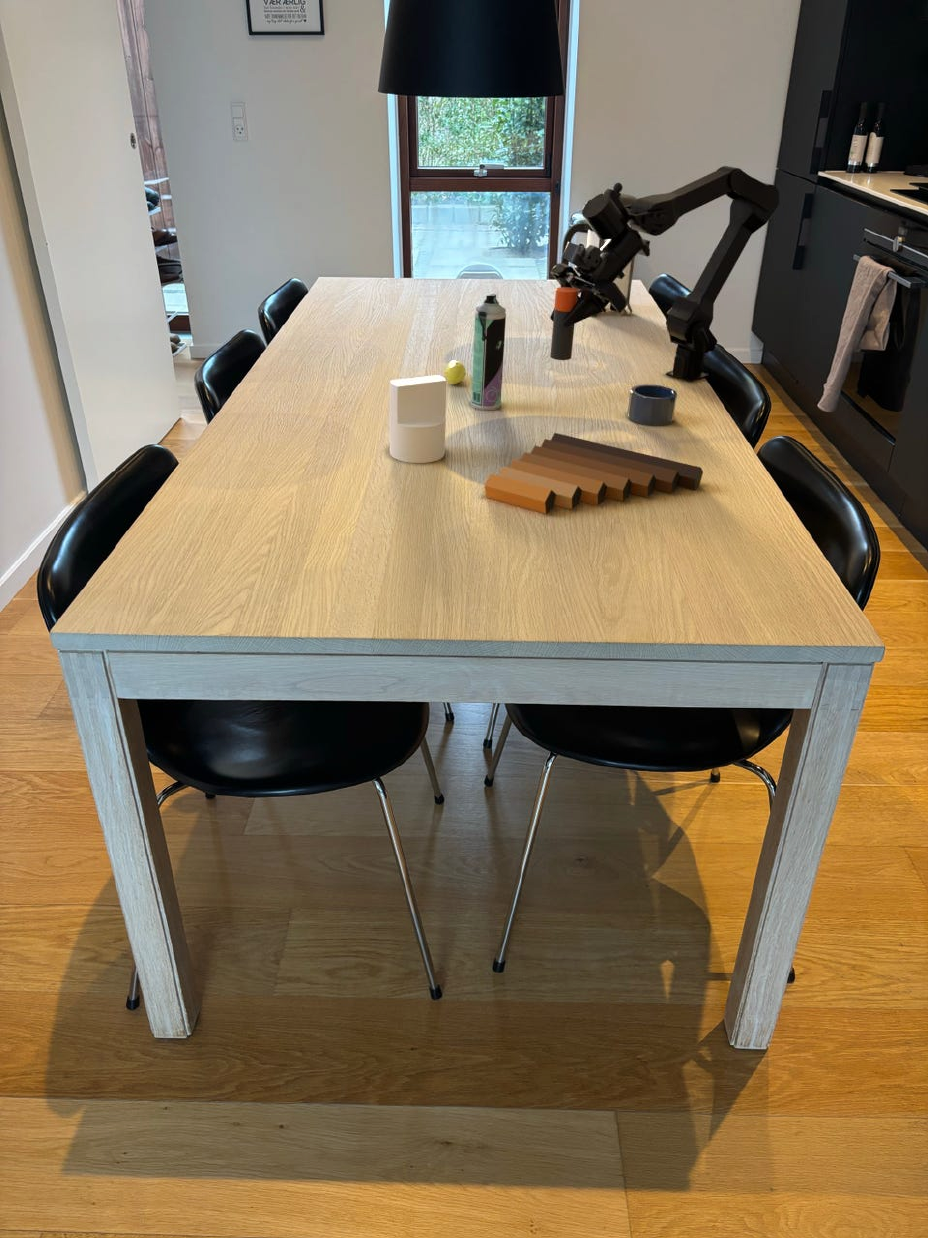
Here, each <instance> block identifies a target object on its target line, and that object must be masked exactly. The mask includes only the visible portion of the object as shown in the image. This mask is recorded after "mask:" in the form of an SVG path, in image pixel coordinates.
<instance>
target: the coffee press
mask: <svg viewBox="0 0 928 1238" xmlns="http://www.w3.org/2000/svg"><path fill="white" fill-rule="evenodd" d="M623 189H624V187H623V185H622V183H621V182H615V183H614V184H613V186H612V190H615V192H616V193H617V195H618V198H619V200H620V201H621V203H622V204H623V206H628V205H631V204H632V203H633V202H634V201H635V200H637V199H638V198H637V197H636V196H634V195H631V194H627V193H621V192H622V190H623ZM627 224H628V225H629V223H627ZM629 227H630V228H631V226H630V225H629ZM631 229H632V228H631ZM583 231H587V240H586V248H587V247H588V246H589V245H592V246H595V247H597V248H599V249H601V248H602V247H603V246H604V245H605V243H606V242H607V241H608V239H605V240H601V239H599V238H598V236H597V235H596V234H595V232H594V231H593V229H592V228H591V227H590V225H589V224H588V222H577V223H574V224H572V225H571V226H570V227H569V228H568V229H567V231H566V232H565V234H564V236H563V241H562V248H561V257H562V255H563V253H564V250H565V248H566V246H567V244H568V242H570V243H572V240H573V238H574V236H575V234H577V233H578V232H583ZM638 233H640V232H639V231H638ZM561 257H560V263H563V264H566V265H568V266H570V262H568V261H567V260H566V261H564V260H562V259H561ZM635 259H636V256H635V257H634V258H633V260H632V261H631V262H630V263H629V264H628V265H627V267H626V268H625V269H624V270H623V273H624V274H625V276H624V277H623V278H622V279H619V278H616V279H615V280H614V283H615V284H616V285H617V286H618V288H619V289H620V291H621V292H622V293H623V295H624V296H625V297H626V299H627V304H626V307H627V308H628V310H629V313H628V311H627V310H626V308H625V309H624V310H623V311H622V312H623V313H624V314H625V316H628V317H629V316H631V315H632V314H633V308H632V306H631V303H630V298H631V293H632V292H631V291H632V284H633V275H634V266H635ZM585 286H586V285H585ZM610 305H611V304H610V302H609V303H608V305H607V306H606V307H605V309H606V311H611V310H610ZM597 315H598V314H596V315H594V316H593V317H596V316H597Z"/></svg>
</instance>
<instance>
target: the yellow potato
mask: <svg viewBox="0 0 928 1238" xmlns="http://www.w3.org/2000/svg"><path fill="white" fill-rule="evenodd" d="M445 367H446V368H445V372H444V374H445V379H446V381H447V382H448V383H449V384H451V385H457V384H460V383H461V382H462V381H463V379H464V378H465V377H466V375H467V370H466V367H465V365H464V364H463V362H461V361H459V360H451V361H449V362H448V363H447V365H446V366H445Z"/></svg>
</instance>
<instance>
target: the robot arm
mask: <svg viewBox="0 0 928 1238" xmlns="http://www.w3.org/2000/svg"><path fill="white" fill-rule="evenodd" d="M723 196H727V198H729V199H730V200H732V201H731V203H730V206H729V221H728V225H727V226H726V228H725V230H724V232H723V233H722V235H721V237H720V239H719V241H718V243H717V244H716V247H715V249H714V250H713V252H712V254H711V256H710V258H709V259H708V261H707V263H706V265H705V267H704V269H703V271H702V272H701V274H700V275H699V278H698V280H697V281H696V283H695V285H694V286H693V289H692V290H691V292H689V293H688V294H687V295H685V297H684V296H681V295H677V296H676V298H675V299H674V301H673V304H672V306H671V308H670V309H669V310H668V311H667V312H666V315H667V317H666V320H665V325H666V330H667V333H668V336H669V342H670V343H673V344H675V345H677V346H676V347H675V348H676V349H675V355H674V359H673V360H674V361H673V366H672V370H670V371H667V372H665V376H668V377H670V378H675V379H678V380H681V381H684V382H688V383H694V382H697V381H700V380H703V379H706V378H708V377H709V373H705V372H703V368H704V362H705V357H706V354H708V353H709V352H714V350H715V349H716V346H717V344H718V340H717V338H716V336H715V335H714V333H713V332H712V331H711V325H712V323H713V320H714V307H715V306H714V305H715V301H716V300H717V298H718V297H719V294H720V293H721V291H722V289H723V287H724V286H725V284H726V282H727V281H728V278H729V277H730V275H731V273H732V271H733V270H734V267H735V266H736V264H737V262H738V261H739V258H740V257H741V255H742V253H743V251H744V249H745V248H746V246H747V244H748V242H749V240H750V239H751V237H752V235H753V234H754V233H756V232H757V231H759V229H761V228H762V227H764V226H765V225H767V224H768V222H769V220H770V219H771V218H772V217H773V216H774V214H775V212H776V211H777V209H778V207H779V206H780V203H781V197H780V191H779V189H778V188H777V186H776V185H774V184H772V183H771V184H770V183H766V182H762V181H761V180H759V179H757V178H755V177H752V176H751V175H749V174H747V173H746V172H745V171H744V170H742V169H741V168H740V167H734V166H728V165H723V166H720V167H718V168H717V169H716V170H715V171H712V172H710V173H708V174H706V175H704V176H702V177H700V178H698V179H696V180H693V181H691V182H689V183H687V184H685V185H683V186H681V187H679V188H677V189H674V190H672V191H670V192H666V193H657V194H651V195H646V196H642V197H638V198H637V200H635V201H634V202H633V203H632V204H631V205H628V206H623V204H622V203H621V201H620V200H619V198H618V195H617V193H616V192H615V190H613V188H612V189H611V188H607V189H606V190H605V191H604V192H603V193H599V194H597V195H595V196H594V197H593V198H592V199H588V201H587V202H586V203H585V204H584V206H583V208H582V210H581V215H582V217H583V218H584V220H585V221H586V223H588V224H589V225H590V227H591V228H592V229H593V231H594V232H595V234H596V235H597V236H598V238H599V239H601V240H605V239H608V241H607V242H606V243H605V245H604V246H603V247H602V248H601V249H599V248H597V247H595V246H592V245H589V246H588V247H587V246H586V247H583V246H581V245H579V244H576V243H573V242H571V243H570V242H568V244H567V246H566V248H565V250H564V253H563V255H562V254H561V256H562V257H560V260H561V259H562V260H564V261H566V260H567V261H568V262H569V264H572V265H575V267H573V266H571V265H569V266H568V265H566V264H563V263H561V262H560V263H556V264H555V265H554V266H553V267H552V269H551V270H550V271H549V272H550V274H551V275H552V277H553V278H554V279H555V280H556V281H557V283H558V284H559V285H560V287H570V288H575V289H577V290H578V297H577V303H576V304H575V306H574V307H573V308H572V310H571V311H570V312H569V314H568V315H567V317H566V318H565V320H564V321H563V323H562V324H563V326H564V327H569V326H571V325H573V324H575V325H576V324H578V323H580V322H582V321H584V320H587V319H589V318H591V317H595V316H594V315H596V314H597V315H600V314H601V313H603V314H605V313H606V312H607V310H606V309H605V307H606V306H607V305H608V303H609V302H610V304H611V305H610V310H609V311H611V312H612V313H614V314H617V315H621V313H622V312H623V310H624V309H625V310H626V308H627V306H626V304H627V299H626V297H625V296H624V295H623V293H622V292H621V291H620V289H619V288H618V286H617V285H616V284H615V283H614V280H615V279H616V278H619V279H622V278H623V277H624V276H625V274H624V273H623V270H624V269H625V268H626V267H627V265H628V264H629V263H630V262H631V261H632V260H633V258H634V257H635V258H636V256H637V255H641V256H644V257H647V258H648V257H650V255H651V247H650V244H651V240H648V239H645V238H643V237H642V236H641V234H640V233H643V234H647V235H649V236H653V237H658V236H661V235H662V234H665V232H667V231H669V230H670V229H671V228H673V227H674V226H675V225H676V223H677V222H678V220H679V219H680V218H681V217H683V216H684V215H686V214H688V213H690V212H692V211H694V210H697V209H698V208H700V207H703V206H704V205H707V204H709V203H711V202H714V201H715V200H717V199H719V198H721V197H723ZM627 223H629V225H630V226H631V228H632V229H631V228H630V227H629V225H628V224H627ZM638 231H639V232H638ZM585 285H586V286H585ZM597 315H596V316H597ZM549 319H550V320H551V321H552V322H553V320H554V309H553V310H552V312H551V315H550V316H549Z"/></svg>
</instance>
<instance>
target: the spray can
mask: <svg viewBox="0 0 928 1238" xmlns="http://www.w3.org/2000/svg"><path fill="white" fill-rule="evenodd" d="M506 311H507V309H506V308H505V307H503V306H502V305H501V304H500V302H499V301H498V300H497V294H494V293H492V294H489V295H486V298H485V299H484V301H483V302H482V303H481V304H480V305H479V306H476V308H475V312H474V332H473V351H472V352H473V353H472V354H473V355H472V376H471V377H472V378H471V399H470V406H471V407H472V408H474V409H477V410H480V411H481V410H482V411H494V410H498V409H500V408H501V403H502V390H503V389H502V388H503V371H504V355H505V337H506V321H507V313H506Z"/></svg>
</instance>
